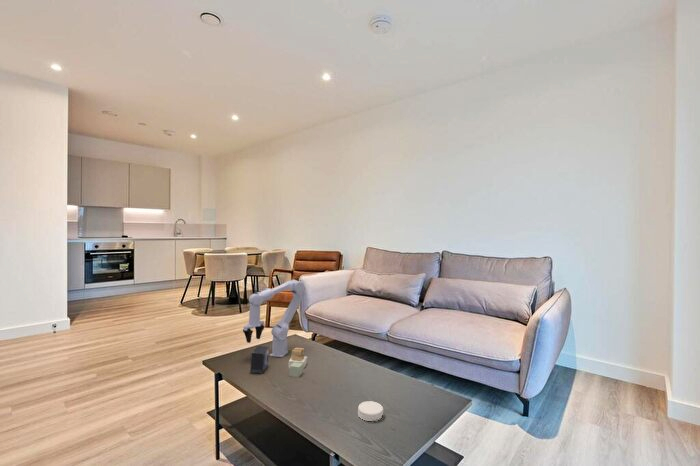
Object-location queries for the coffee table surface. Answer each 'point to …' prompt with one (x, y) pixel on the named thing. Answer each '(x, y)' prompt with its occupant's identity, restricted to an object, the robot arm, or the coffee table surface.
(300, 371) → the sage cube
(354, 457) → the coffee table surface
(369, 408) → the coaster
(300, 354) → the oak cube
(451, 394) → the coffee table surface
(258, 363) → the small box
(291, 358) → the base block
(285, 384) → the coffee table surface
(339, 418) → the coffee table surface
